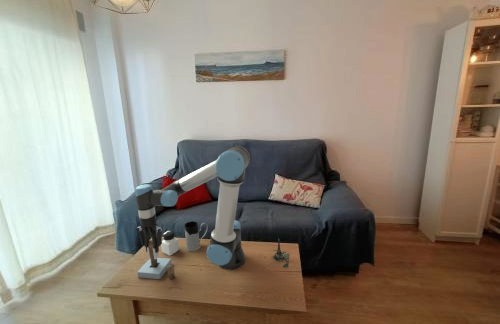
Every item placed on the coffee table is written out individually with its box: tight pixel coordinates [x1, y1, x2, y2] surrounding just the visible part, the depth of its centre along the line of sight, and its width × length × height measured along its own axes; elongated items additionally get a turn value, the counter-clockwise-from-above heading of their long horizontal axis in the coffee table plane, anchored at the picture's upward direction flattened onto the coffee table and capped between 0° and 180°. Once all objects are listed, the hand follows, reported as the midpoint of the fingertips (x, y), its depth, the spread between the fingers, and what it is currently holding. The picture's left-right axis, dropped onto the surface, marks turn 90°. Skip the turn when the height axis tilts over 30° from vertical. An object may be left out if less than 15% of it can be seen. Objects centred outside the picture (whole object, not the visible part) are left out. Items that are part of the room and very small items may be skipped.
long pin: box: [148, 239, 158, 268], centre depth 122 cm, size 3×3×14 cm
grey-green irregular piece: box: [272, 238, 290, 269], centre depth 128 cm, size 15×10×13 cm
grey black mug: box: [184, 220, 209, 252], centre depth 143 cm, size 9×14×15 cm, turn 118°
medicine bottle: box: [160, 230, 180, 256], centre depth 139 cm, size 7×7×12 cm
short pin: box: [166, 264, 175, 280], centre depth 118 cm, size 3×3×6 cm
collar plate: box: [136, 257, 173, 280], centre depth 124 cm, size 12×12×3 cm
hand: (153, 257), depth 122 cm, fingers closed on long pin, 2 cm apart
